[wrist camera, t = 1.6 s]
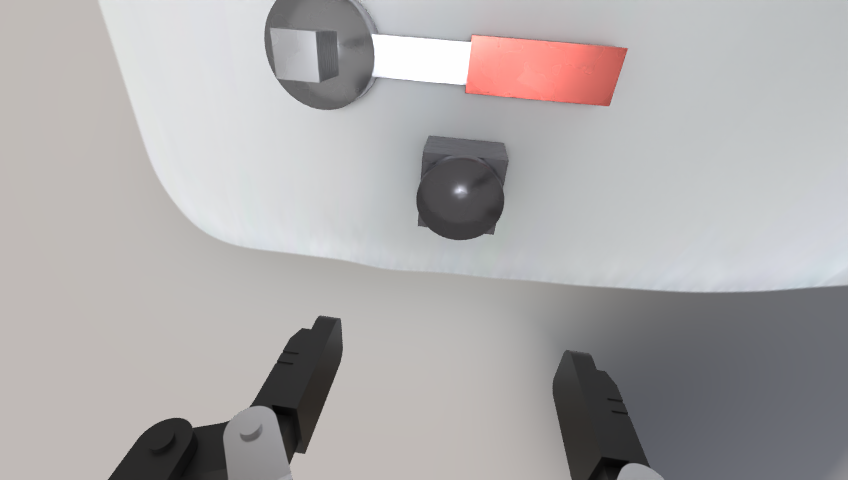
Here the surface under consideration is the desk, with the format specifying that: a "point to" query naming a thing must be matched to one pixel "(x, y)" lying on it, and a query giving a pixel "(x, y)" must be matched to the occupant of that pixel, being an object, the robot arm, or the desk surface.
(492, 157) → the block with domed cap
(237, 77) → the desk surface
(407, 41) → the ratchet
